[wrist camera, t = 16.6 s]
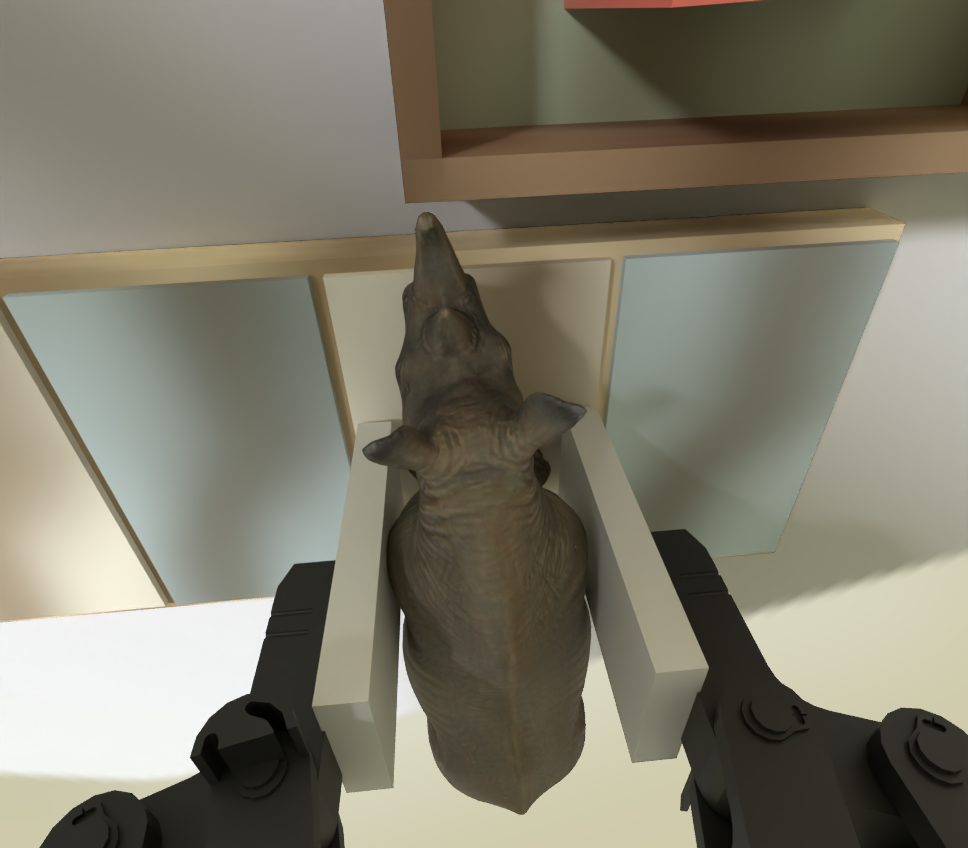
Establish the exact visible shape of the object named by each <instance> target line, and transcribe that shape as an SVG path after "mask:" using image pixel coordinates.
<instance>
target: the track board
mask: <svg viewBox="0 0 968 848" xmlns="http://www.w3.org/2000/svg"><path fill="white" fill-rule="evenodd" d="M904 226H905V223H902V222H900V221H898V220H896V219H893V218H891V217H889V216H887V215H884V214H882V213H880V212H878V211H875V210H873V209H871V208H851V209H834V210H817V211H800V212H783V213H766V214H749V215H732V216H715V217H698V218H681V219H664V220H647V221H630V222H613V223H596V224H579V225H562V226H545V227H528V228H511V229H494V230H477V231H460V232H445V233H446V235H447V237H448V239H449V241H450V243H451V245H452V247H453V249H454V251H455V254H456V256H457V258H458V260H459V263H460V265H461V267H462V269H463V271H464V273H467V274H470V275H471V276H472V277H473V278H474V279H475V282H476V285H477V288H478V291H479V294H480V298H481V301H482V304H483V307H484V309H485V312H486V315H487V317H488V320H489V321H490V323H491V325H492V326H493V327H494V328H495V329H496V330H497V331H498V332H499V333H501V334H502V335H503V336H504V337H505V338H506V340H507V341H508V343H509V344H510V347H511V354H512V365H513V375H514V378H515V381H516V384H517V386H518V387H519V389H520V391H521V393H522V395H523V400H524V401H525V399H526V398H527V397H528V396H529V395H530V394H532V393H535V392H542V393H545V394H548V395H552V396H555V397H557V398H560V399H562V400H564V401H567V402H570V403H575V404H579V405H581V406H583V407H592V406H596V408H597V410H598V413H599V415H600V417H601V420H602V422H603V424H604V427H605V429H606V431H607V434H608V436H609V438H610V440H611V443H612V445H613V447H614V450H615V452H616V454H617V457H618V459H619V461H620V464H621V466H622V468H623V470H624V473H625V475H626V477H627V480H628V482H629V484H630V487H631V489H632V491H633V494H634V496H635V498H636V500H637V503H638V505H639V507H640V510H641V512H642V514H643V517H644V519H645V521H646V524H647V526H648V528H649V530H650V532H654V531H666V530H678V529H686V530H687V531H688V532H689V533H690V534H691V535H693V536H694V537H695V538H696V539H697V540H698V541H699V542H700V543H701V544H702V545H703V546H704V547H706V549H707V551H708V553H709V555H710V556H711V558H718V557H729V556H740V555H751V554H762V553H774V551H775V550H776V548H777V545H778V543H779V540H780V538H781V535H782V533H783V530H784V528H785V525H786V523H787V520H788V518H789V516H790V513H791V511H792V508H793V506H794V503H795V501H796V498H797V496H798V493H799V491H800V488H801V486H802V483H803V481H804V478H805V476H806V473H807V471H808V468H809V466H810V463H811V461H812V458H813V456H814V453H815V451H816V448H817V446H818V443H819V441H820V438H821V436H822V433H823V431H824V428H825V426H826V423H827V421H828V418H829V416H830V413H831V411H832V408H833V406H834V403H835V401H836V398H837V396H838V393H839V391H840V388H841V386H842V383H843V381H844V378H845V376H846V374H847V371H848V369H849V366H850V364H851V361H852V359H853V356H854V354H855V351H856V349H857V346H858V344H859V341H860V339H861V336H862V334H863V331H864V329H865V326H866V324H867V321H868V319H869V316H870V314H871V311H872V309H873V306H874V304H875V301H876V299H877V296H878V294H879V291H880V289H881V286H882V284H883V281H884V279H885V276H886V274H887V271H888V269H889V266H890V264H891V261H892V259H893V256H894V254H895V251H896V249H897V246H898V244H899V242H898V241H899V239H900V236H901V234H902V231H903V229H904ZM415 257H416V238H415V234H409V235H392V236H375V237H358V238H341V239H323V240H306V241H289V242H272V243H255V244H238V245H221V246H204V247H187V248H170V249H153V250H136V251H119V252H102V253H85V254H68V255H51V256H34V257H17V258H0V622H10V621H21V620H32V619H43V618H54V617H65V616H76V615H87V614H99V613H110V612H121V611H132V610H143V609H154V608H165V607H176V606H187V605H198V604H209V603H220V602H231V601H242V600H253V599H265V598H275V595H276V591H277V587H278V585H279V584H280V583H281V581H282V580H283V579H284V577H285V576H286V574H287V573H288V572H289V570H290V569H291V567H292V566H293V565H294V564H296V563H308V562H320V561H331V560H336V555H337V549H338V543H339V537H340V531H341V525H342V519H343V513H344V506H345V500H346V494H347V488H348V482H349V476H350V470H351V463H352V457H353V451H354V445H355V439H356V433H357V427H358V424H362V423H375V422H389V421H391V423H392V429H393V432H394V431H395V430H396V429H397V428H399V427H401V426H403V422H402V399H401V394H400V390H399V386H398V383H397V379H396V376H395V366H396V362H397V360H398V358H399V355H400V352H401V349H402V346H403V341H404V337H405V318H404V312H403V301H402V295H403V291H404V289H405V287H406V286H407V285H408V284H410V283H412V282H413V278H414V265H415ZM561 442H562V435H560V436H558V437H556V438H554V439H552V440H550V441H549V442H547V443H545V444H543V445H542V446H540V447H539V449H540V450H541V452H542V454H543V459H545V460H546V461H548V462H549V464H550V467H551V472H550V475H549V478H548V479H547V481H546V483H545V484H544V485H543V486H542V487H543V488H545V489H548V490H550V491H552V492H554V493H555V494H557V495H558V491H559V474H560V458H561ZM399 474H400V480H401V487H402V493H403V500H404V506H406V504H407V502H408V501H409V500H410V499H411V498H412V496H413V495H414V494H415V493H417V492H418V491H419V489H420V487H419V483H418V480H417V479H416V478H415V477H414V476H413V475H412V474H411V473H410V472H409V471H408V470H407V469H399Z"/></svg>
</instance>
